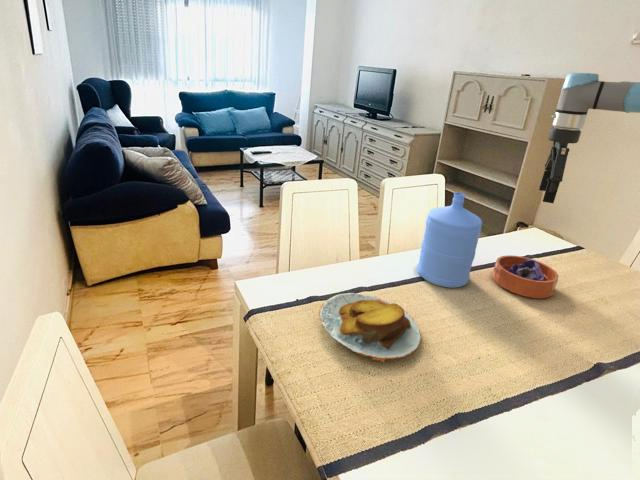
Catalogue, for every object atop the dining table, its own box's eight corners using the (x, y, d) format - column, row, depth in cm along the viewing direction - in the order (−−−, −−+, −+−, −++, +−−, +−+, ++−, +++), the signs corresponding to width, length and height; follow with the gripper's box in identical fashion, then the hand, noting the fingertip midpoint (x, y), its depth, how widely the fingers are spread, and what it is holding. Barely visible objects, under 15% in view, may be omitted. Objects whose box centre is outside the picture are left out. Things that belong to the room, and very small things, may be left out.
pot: (555, 283, 123) (560, 267, 121) (549, 306, 111) (555, 288, 109) (497, 266, 132) (502, 250, 130) (486, 285, 120) (491, 268, 118)
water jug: (464, 294, 115) (486, 207, 105) (411, 278, 122) (426, 195, 112) (471, 273, 127) (491, 193, 117) (422, 259, 135) (437, 183, 125)
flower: (522, 254, 126) (526, 252, 117) (547, 272, 122) (553, 272, 113) (502, 274, 127) (503, 274, 119) (526, 293, 124) (529, 295, 115)
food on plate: (338, 291, 114) (340, 271, 111) (426, 318, 103) (430, 298, 101) (302, 341, 93) (304, 318, 90) (408, 382, 82) (413, 357, 80)
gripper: (547, 122, 125) (529, 184, 133) (556, 132, 105) (534, 205, 112) (575, 124, 122) (555, 188, 129) (589, 135, 101) (565, 210, 109)
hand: (545, 196), depth 121 cm, fingers open, 13 cm apart
